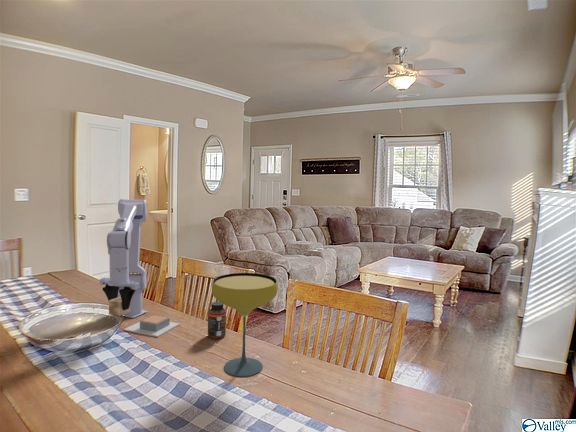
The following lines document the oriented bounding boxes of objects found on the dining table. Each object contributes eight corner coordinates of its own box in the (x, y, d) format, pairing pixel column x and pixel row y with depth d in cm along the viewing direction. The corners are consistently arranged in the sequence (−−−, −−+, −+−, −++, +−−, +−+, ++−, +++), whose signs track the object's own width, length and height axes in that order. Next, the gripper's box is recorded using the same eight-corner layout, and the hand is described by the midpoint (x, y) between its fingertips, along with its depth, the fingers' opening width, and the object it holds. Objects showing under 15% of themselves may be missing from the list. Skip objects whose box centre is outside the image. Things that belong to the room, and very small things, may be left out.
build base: (124, 330, 131) (123, 321, 131) (148, 319, 142) (147, 310, 142) (157, 337, 126) (157, 327, 126) (179, 324, 137) (179, 316, 137)
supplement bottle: (223, 339, 126) (224, 306, 125) (205, 339, 126) (206, 305, 125) (227, 332, 132) (227, 300, 131) (210, 332, 132) (210, 300, 131)
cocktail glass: (284, 359, 113) (287, 276, 111) (259, 390, 96) (261, 293, 94) (230, 348, 119) (231, 270, 117) (197, 375, 102) (198, 284, 100)
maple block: (108, 314, 124) (108, 300, 124) (119, 309, 129) (119, 296, 128) (119, 316, 123) (119, 302, 122) (130, 311, 127) (130, 298, 127)
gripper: (92, 267, 123) (92, 308, 124) (127, 272, 118) (128, 315, 119) (109, 263, 130) (109, 302, 131) (143, 268, 125) (144, 308, 126)
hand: (119, 308), depth 126 cm, fingers closed on maple block, 4 cm apart
